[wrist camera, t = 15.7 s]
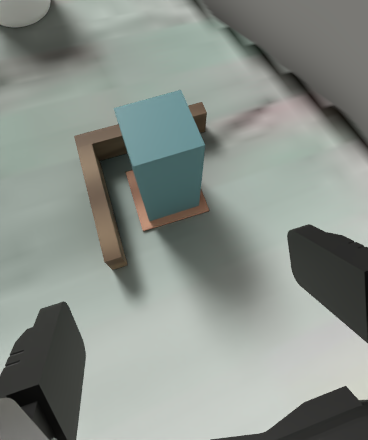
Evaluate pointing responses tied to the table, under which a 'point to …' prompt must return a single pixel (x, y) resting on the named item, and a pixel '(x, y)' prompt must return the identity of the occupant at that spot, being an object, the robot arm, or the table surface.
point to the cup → (22, 12)
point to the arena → (97, 190)
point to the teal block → (163, 152)
